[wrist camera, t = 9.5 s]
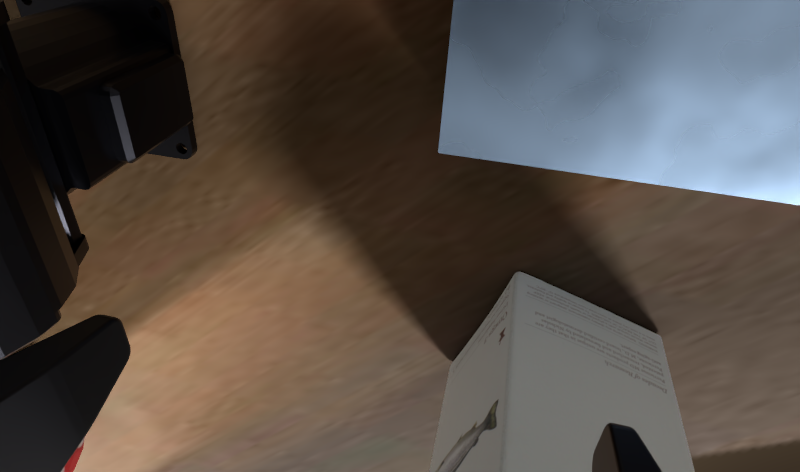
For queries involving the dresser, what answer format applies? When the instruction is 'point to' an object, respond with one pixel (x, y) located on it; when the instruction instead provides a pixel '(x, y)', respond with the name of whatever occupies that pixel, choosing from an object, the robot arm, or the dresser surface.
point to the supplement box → (555, 388)
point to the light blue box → (631, 90)
